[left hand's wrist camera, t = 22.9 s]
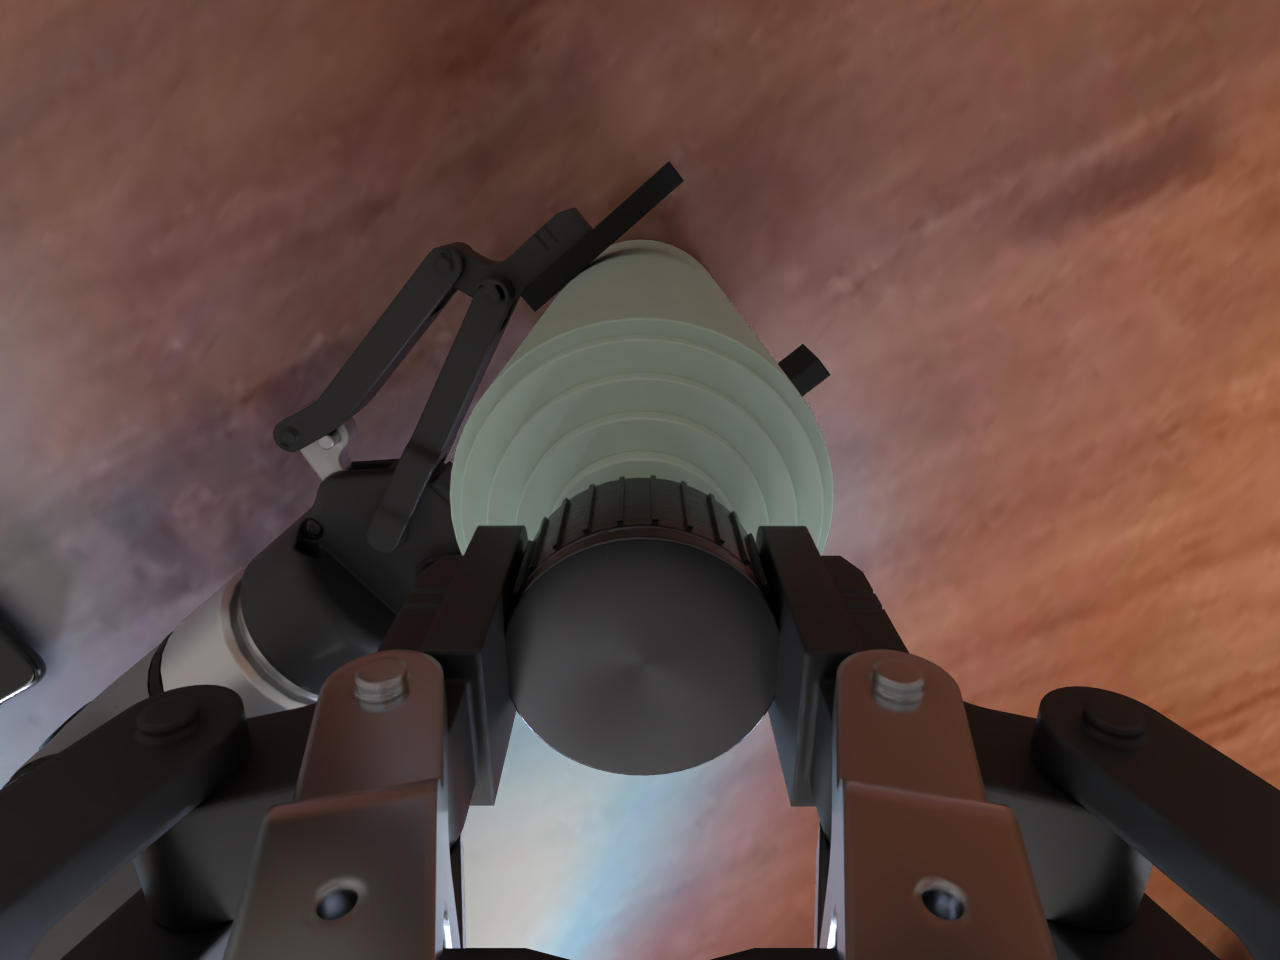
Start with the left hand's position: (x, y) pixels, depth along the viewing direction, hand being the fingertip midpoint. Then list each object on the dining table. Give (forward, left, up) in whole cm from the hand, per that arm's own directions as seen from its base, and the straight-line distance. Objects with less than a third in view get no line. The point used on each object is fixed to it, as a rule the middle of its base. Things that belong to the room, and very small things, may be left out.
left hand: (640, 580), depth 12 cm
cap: (0, 0, +2) cm, 2 cm away
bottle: (0, 0, -23) cm, 23 cm away
